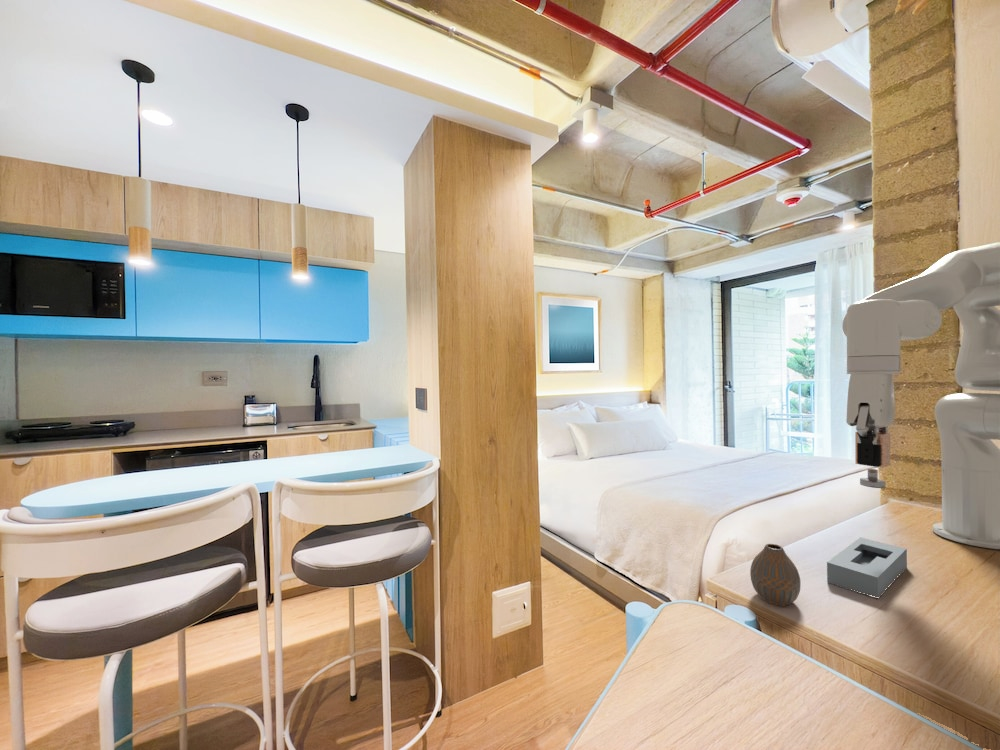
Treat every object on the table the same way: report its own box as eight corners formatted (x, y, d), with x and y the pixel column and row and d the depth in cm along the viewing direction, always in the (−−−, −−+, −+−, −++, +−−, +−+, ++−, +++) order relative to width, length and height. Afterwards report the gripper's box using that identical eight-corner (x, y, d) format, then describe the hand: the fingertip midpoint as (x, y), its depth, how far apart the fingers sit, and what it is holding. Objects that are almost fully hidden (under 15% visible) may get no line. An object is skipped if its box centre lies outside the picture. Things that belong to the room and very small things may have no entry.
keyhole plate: (860, 555, 84) (860, 537, 84) (906, 567, 78) (906, 548, 78) (827, 582, 73) (827, 562, 73) (877, 599, 68) (877, 577, 68)
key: (862, 481, 81) (862, 430, 81) (890, 486, 78) (890, 432, 77) (855, 484, 79) (855, 432, 79) (883, 489, 75) (883, 434, 75)
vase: (795, 593, 70) (794, 541, 70) (805, 615, 64) (804, 558, 64) (748, 585, 73) (747, 535, 73) (753, 605, 67) (752, 551, 67)
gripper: (862, 367, 86) (862, 455, 86) (831, 366, 76) (831, 465, 76) (912, 366, 80) (912, 462, 80) (886, 365, 70) (886, 474, 70)
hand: (872, 462), depth 78 cm, fingers closed on key, 4 cm apart
